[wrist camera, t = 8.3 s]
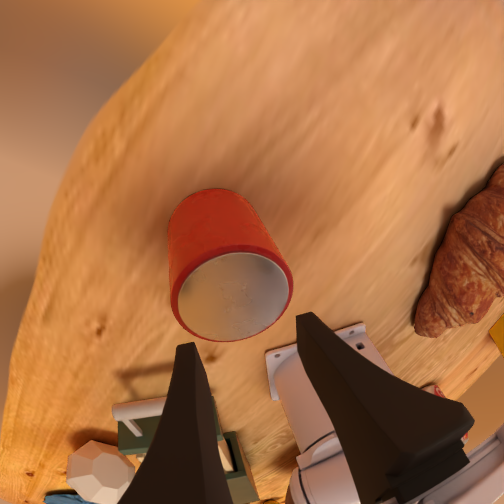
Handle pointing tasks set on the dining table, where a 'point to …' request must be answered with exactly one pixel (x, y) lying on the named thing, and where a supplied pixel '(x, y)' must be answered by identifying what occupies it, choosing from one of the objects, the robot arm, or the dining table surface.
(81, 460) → the chicken leg
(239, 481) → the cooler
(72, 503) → the blue ocean wave diorama
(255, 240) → the drink tin
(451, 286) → the pastry
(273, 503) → the fruit
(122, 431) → the green drawer
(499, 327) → the alarm clock
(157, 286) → the dining table surface
